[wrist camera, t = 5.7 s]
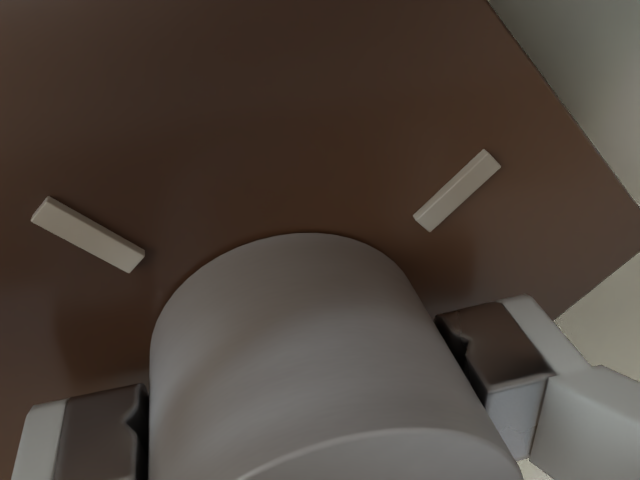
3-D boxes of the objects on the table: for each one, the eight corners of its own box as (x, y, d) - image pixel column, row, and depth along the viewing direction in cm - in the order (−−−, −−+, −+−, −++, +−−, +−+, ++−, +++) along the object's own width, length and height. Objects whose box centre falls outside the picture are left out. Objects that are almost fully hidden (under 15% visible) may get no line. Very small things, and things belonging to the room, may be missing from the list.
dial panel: (569, 169, 12) (674, 249, 10) (246, 454, 15) (263, 571, 13) (-175, -752, 5) (-542, -1424, 2) (-537, 156, 8) (-876, 301, 5)
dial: (268, 177, 7) (344, 401, 4) (466, 306, 10) (608, 513, 7) (93, 387, 9) (58, 672, 6) (304, 457, 11) (360, 688, 8)
